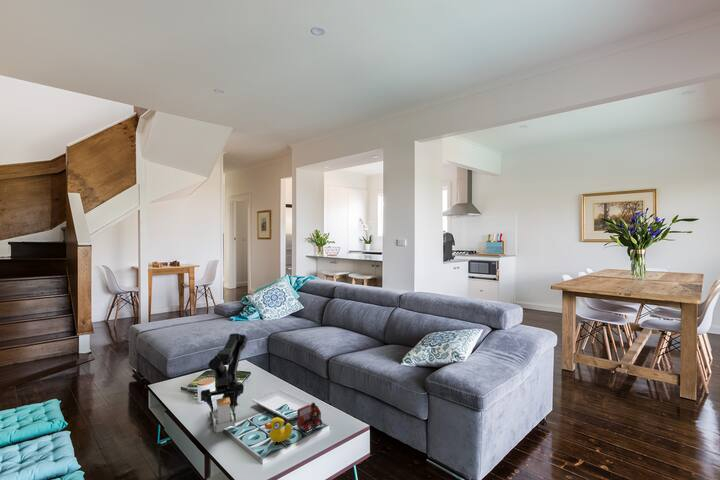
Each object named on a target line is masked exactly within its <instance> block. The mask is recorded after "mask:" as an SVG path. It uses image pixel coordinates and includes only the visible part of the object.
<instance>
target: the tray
mask: <svg viewBox="0 0 720 480" xmlns="http://www.w3.org/2000/svg"><path fill="white" fill-rule="evenodd" d="M251 401H252V402H254V403H255V404H257V405H258V406H261V407H262V408H265V409H266V410H268V411H270V412H272V413H274V414H276V415H278V416H280V417H282V418H283V419H285V420H287V421H291V420H293V419H295V418H294V417H296V416H298V415H297V414H296V415H294V416H292V417H287V416H285V415H284V414H281V413H280V412H279V411H276V410H274V409H275V408H277V407H279V406H282V405H284V404H287V405H288V407H289V409H293V410H298V409H300V408H302V407H304V406H307V405H311V402H309V401H307V400H304V399H302V398H300V397H298V396H296V395H293V394H291V393H289V392H287V391H284V390H282V389H279V388H277V389H275V390H272V391H269V392H267V393H264V394H263V395H259V396H256V397H255V398H253V399H251ZM292 418H293V419H292ZM296 418H297V417H296ZM290 419H291V420H290Z"/></svg>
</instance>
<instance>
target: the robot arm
mask: <svg viewBox="0 0 720 480" xmlns="http://www.w3.org/2000/svg"><path fill="white" fill-rule="evenodd" d="M247 343H248V336H247V335H246V334H240V333H229V335H228V339H227V341H226V343H225V345H224V347H223V349H221V350H219V351H218V352H217V353H216V355H215V356H214V357H213V358H211V359H210V360H209V362H208V368H209V369H210V371H211V372H212V373H213V374H214V385H215V386H214V387H215V390H213V391H211V389H210V388H209V389H203V390H201V391H200V401H201V402H204V403H206V404H207V405H208V407H209V408H210V412H211V411H212V413H213V411H214V406H213V401H212V400H213V398H212V397H213V396H219V395H222V396H221V398H226V397H229V398H230V402H231V404H230V407H234V409H236V406H238V405H239V404H238V398H239V397H240V396H241V395H242V394H243V393H244V389H245V388H244V387H245V386H244V384H243V383H241V382H240V383H239V380H238V378H237V371H238V367H239V363H240V358H241V353H242V351H243V350H244V349H245V348H246V344H247ZM227 366H228V367H227Z"/></svg>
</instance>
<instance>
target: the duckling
mask: <svg viewBox="0 0 720 480" xmlns="http://www.w3.org/2000/svg"><path fill="white" fill-rule="evenodd" d="M284 425H285V426H284ZM264 428H265V429H266V430H269V431H270V432H269V438H270V440H271V441H272V442H274V443H276V442H278V443H280V442H284V441H286V440H288V439H289V438H290V437H291V435H292V432H293V430H292V429H293V427H292V424H290V423H289V422H288V423H286V424H285V420H284V418H281V417H273V418H272V419H271V420H270V421H269V423H266V422H265V423H264Z"/></svg>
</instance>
